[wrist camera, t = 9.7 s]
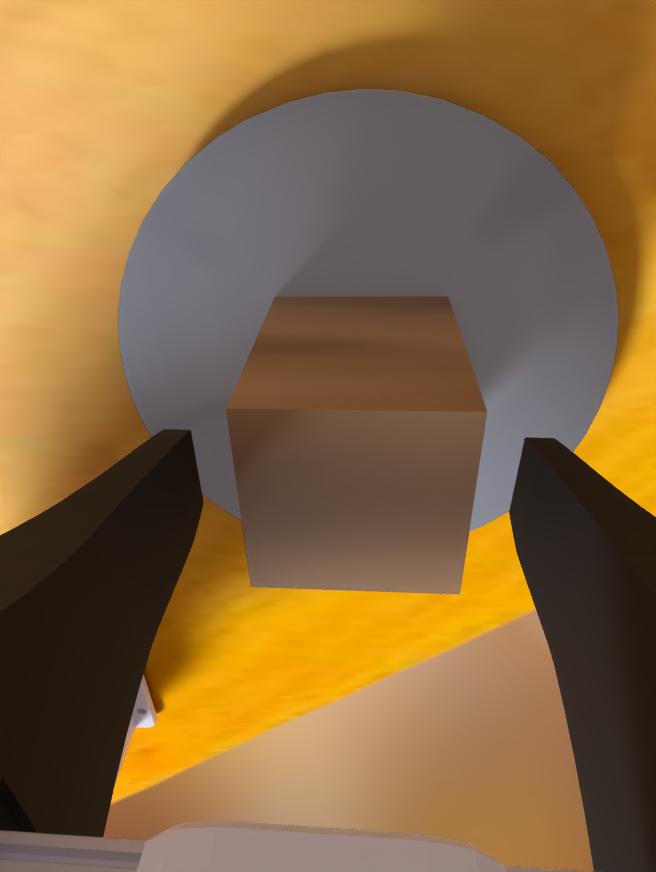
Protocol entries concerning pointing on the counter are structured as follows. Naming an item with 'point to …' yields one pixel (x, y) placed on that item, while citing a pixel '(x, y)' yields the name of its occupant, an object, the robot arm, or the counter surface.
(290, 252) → the plate
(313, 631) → the counter surface
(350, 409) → the walnut stool block
